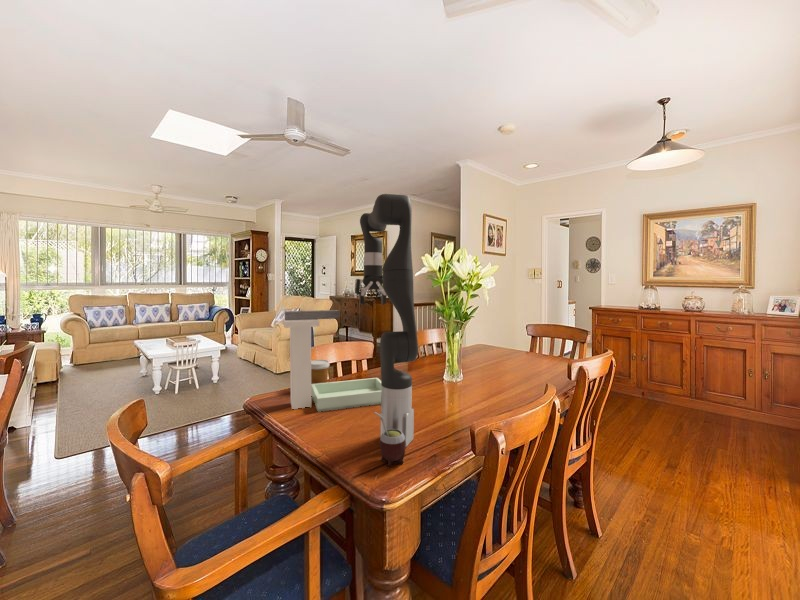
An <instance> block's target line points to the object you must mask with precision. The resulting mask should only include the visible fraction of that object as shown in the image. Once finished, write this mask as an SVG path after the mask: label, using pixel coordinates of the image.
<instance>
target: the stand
mask: <svg viewBox="0 0 800 600" xmlns="http://www.w3.org/2000/svg"><path fill="white" fill-rule="evenodd" d="M319 320H320V319H309V320H285V317H282V325H283V327H284V329H286V328H289V359H290V361H289V362H290V363H289V364H290V366H289V368H290V373H289V374H290V377H289V378H290V381H289V382H290V386H289V387H290V407H291V410H292V409H294V410H299V409H298V408H302V409H306V408H305V407H310V408H312V397H311V361H312V328H313V327H316V328H317V327H320V321H319Z"/></svg>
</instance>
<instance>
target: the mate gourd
mask: <svg viewBox="0 0 800 600" xmlns="http://www.w3.org/2000/svg"><path fill="white" fill-rule="evenodd" d="M373 413H374V414H375V415H376V416H378V417H379V419H380V422H381V421H382V423H383V426H384V429H385V431H384V432H383V434H382V435H381V434H380V437H379V450H380V455H381V459H380V461H381V462H387V463H388V464H387V465H386V468H387V467H389V468H388V469H390V468H391V467H392V466H393V464H396V463H397V465H402V464H403V463H405V462H404V457H405V455H406V448H407V447H406V441H405V436H404V434H403V433H402V432H401V431H400V430H397V429H388V430H387V429H386V426H385V423H384V419H383V417H382V416H381V413H378V412H376V411H373ZM391 465H392V466H391ZM403 465H404V464H403Z"/></svg>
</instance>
